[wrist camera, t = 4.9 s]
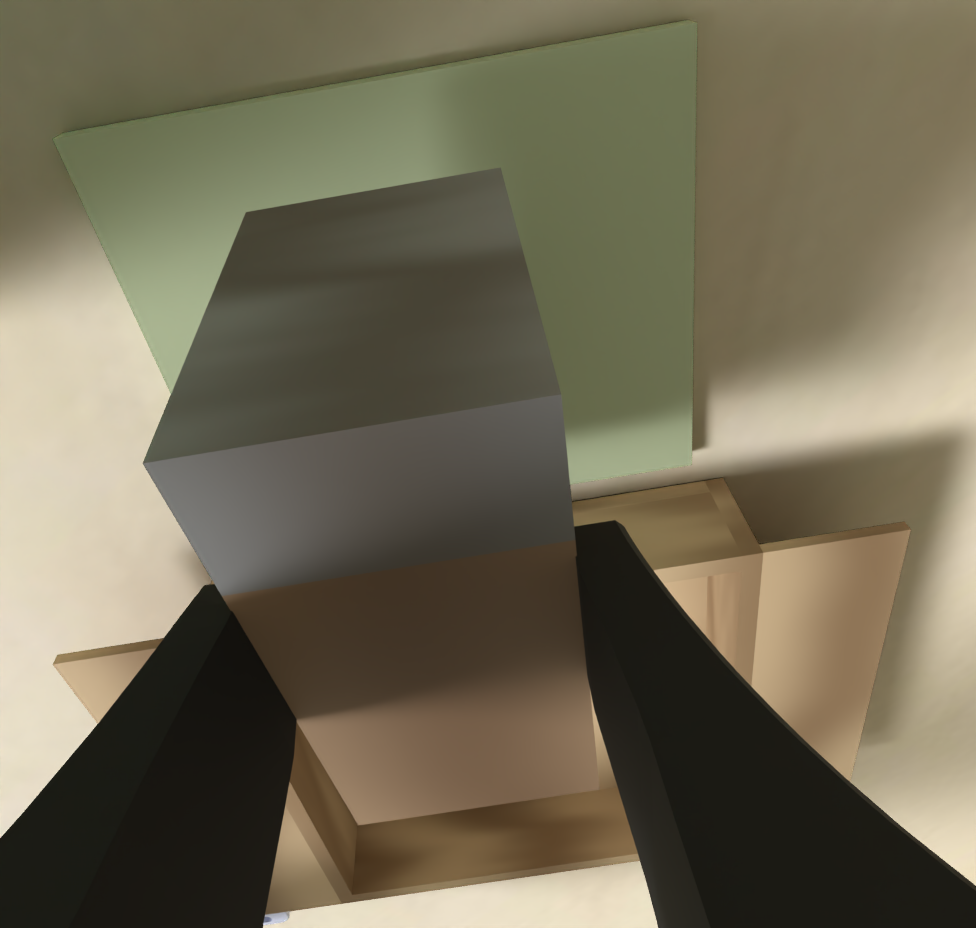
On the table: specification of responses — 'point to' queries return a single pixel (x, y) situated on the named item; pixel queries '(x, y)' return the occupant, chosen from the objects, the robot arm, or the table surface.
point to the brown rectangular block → (392, 494)
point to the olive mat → (442, 153)
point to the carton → (600, 813)
